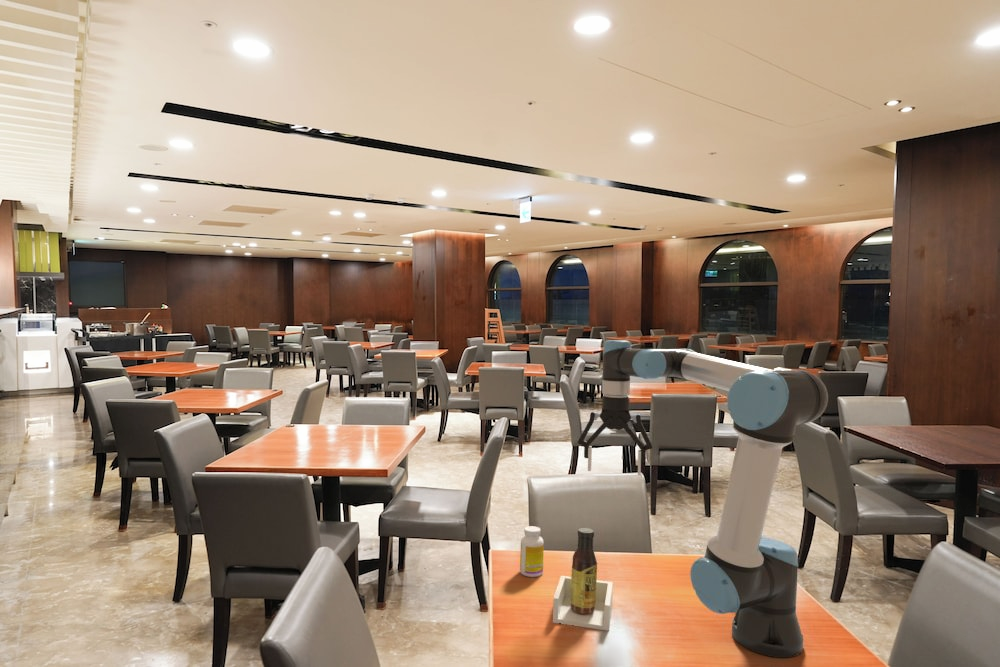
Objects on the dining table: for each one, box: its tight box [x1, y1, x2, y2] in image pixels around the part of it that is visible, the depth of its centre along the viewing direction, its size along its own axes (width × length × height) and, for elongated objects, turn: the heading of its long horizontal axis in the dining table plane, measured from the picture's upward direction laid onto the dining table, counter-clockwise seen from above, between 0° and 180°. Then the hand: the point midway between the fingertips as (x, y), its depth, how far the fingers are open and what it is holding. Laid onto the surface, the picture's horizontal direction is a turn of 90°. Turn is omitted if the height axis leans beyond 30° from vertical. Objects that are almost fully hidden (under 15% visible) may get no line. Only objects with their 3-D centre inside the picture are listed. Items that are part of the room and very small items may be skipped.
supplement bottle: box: [519, 525, 545, 578], centre depth 172 cm, size 7×7×13 cm
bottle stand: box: [552, 575, 614, 632], centre depth 149 cm, size 13×13×6 cm
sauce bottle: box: [570, 527, 598, 614], centre depth 149 cm, size 6×6×20 cm
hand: (614, 471), depth 166 cm, fingers open, 13 cm apart
